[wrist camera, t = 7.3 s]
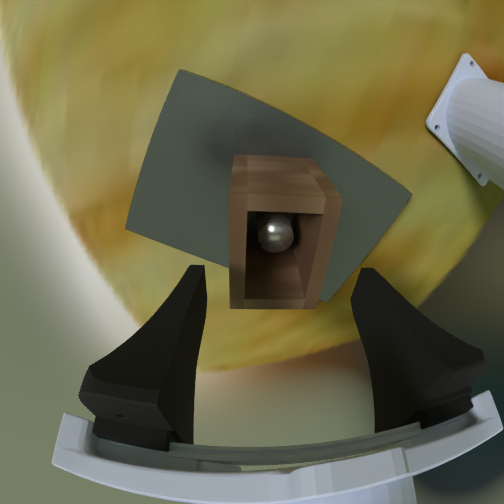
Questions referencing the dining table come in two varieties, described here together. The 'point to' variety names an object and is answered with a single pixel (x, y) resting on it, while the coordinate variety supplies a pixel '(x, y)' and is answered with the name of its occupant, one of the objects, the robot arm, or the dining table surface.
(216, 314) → the dining table surface
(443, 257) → the dining table surface
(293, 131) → the plate
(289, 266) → the hollow wooden block
